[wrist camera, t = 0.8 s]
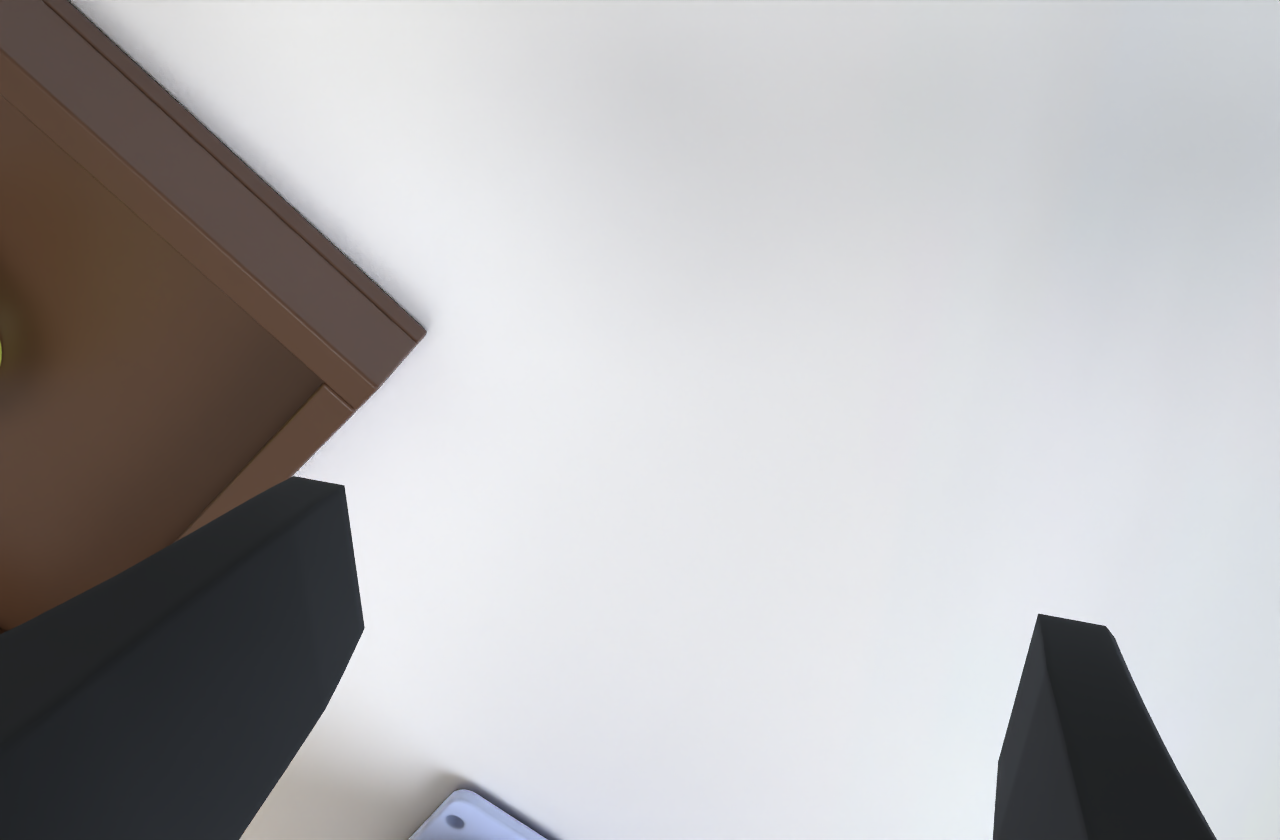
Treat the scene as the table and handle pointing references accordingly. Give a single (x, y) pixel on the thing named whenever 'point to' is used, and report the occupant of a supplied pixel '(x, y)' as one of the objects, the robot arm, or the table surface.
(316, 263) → the tray
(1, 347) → the pear
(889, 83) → the table surface
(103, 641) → the robot arm
